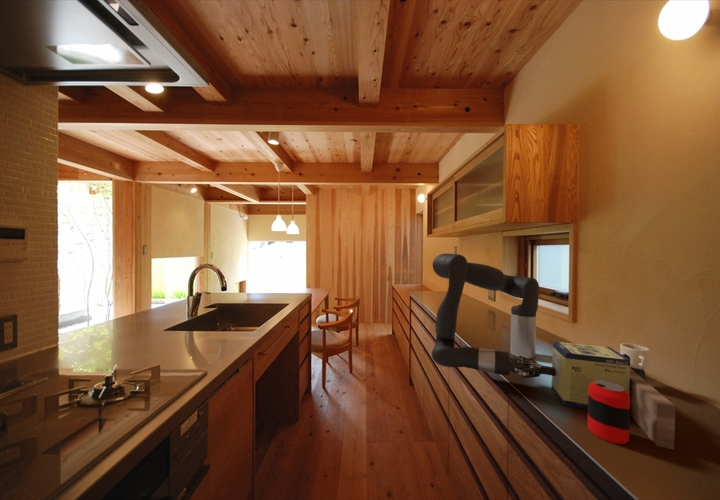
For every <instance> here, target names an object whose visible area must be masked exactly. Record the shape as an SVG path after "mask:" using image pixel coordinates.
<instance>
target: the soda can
mask: <svg viewBox="0 0 720 500" xmlns="http://www.w3.org/2000/svg"><path fill="white" fill-rule="evenodd" d="M630 417H631V416H630V396H629V394H628V393H627V392H626V391H625V389H624V388H623V387H622V386H620V385H618V384H615V383H613V382H609V381H604V380H595V381H594V382H592V383H591V384H590V385H589V387H588V409H587V428H588V430H589V431H590V432H591V433H592V434H593V435H594V436H596V437H597V438H599V439H601V440H603V441H605V442H609V443H612V444H614V445H615V444H616V445H624V444H627V443H628V442H629V441H630Z"/></svg>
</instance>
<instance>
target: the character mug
mask: <svg viewBox="0 0 720 500" xmlns="http://www.w3.org/2000/svg"><path fill="white" fill-rule="evenodd" d="M619 346H620V347H619V353H620V354H621V355H623V356H625V357H626V358H628V359H630V368H631V369H632V370H633V371H634V372H635V373H636V374H638V375H639V376H640V377H641V378H642V379H644V380H645V381H646V382H647V375H646V371H645V370H649V369H650V364H651V349H650V348H648V347H646V346H642V345H639V344H636V343H635V344H634V343H625V342H624V343H620V345H619ZM647 383H648V382H647Z"/></svg>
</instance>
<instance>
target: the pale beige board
mask: <svg viewBox="0 0 720 500" xmlns="http://www.w3.org/2000/svg"><path fill="white" fill-rule="evenodd" d="M629 396H630V417H631V418H632V419H633V420H634V422H636V424H637V425H638V426H639V427H640V429H641V430H642V431H643V433H645V435H647V437H648V438H649V440H651V442H652V443H653V444H654V446H657V447H661V448H665V449H668V450H675V436H676V435H675V428H676V425H675V424H676V423H675V422H676V405H675V404H674V403H673V402H671V401H670V400H669V399H668V398H666V396H664V395H663V394H662V393H660V392H659V391H658V390H657V389H655V388H654V386H652V385H651V384H650V383H648V382H646V381H645V380H644V379H642V378H641V377H640V376H639V375H638V374H636V373H635V372H634V371H633V370H632V369H631V368H630V388H629Z"/></svg>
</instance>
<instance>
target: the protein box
mask: <svg viewBox="0 0 720 500" xmlns="http://www.w3.org/2000/svg"><path fill="white" fill-rule="evenodd" d="M551 356H552V357H551V358H552V362H551V367H554V368H555V370H556V375H555V376H551V390H552V392H554V394H555V396H557V399H559V401H560V403H562V405H563V406H565V407H572V408H578V409H583V410H585V409H586V410H588V387H589V385H590V384H591V383H592V382H594V381H595V380H604V381H609V382H613V383H615V384H618V385H620V386H622V387H623V388H624V389H625V391H626V392H627V393H628V394H629V388H630V359H628V358H626V357H625V356H623V355H621V354H620V352H618V351H617V350H615V349H613V348H612V347H610V346H603V345H602V346H600V345H591V344H582V343H580V344H579V343H570V342H562V341H553V342H552V355H551Z"/></svg>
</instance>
